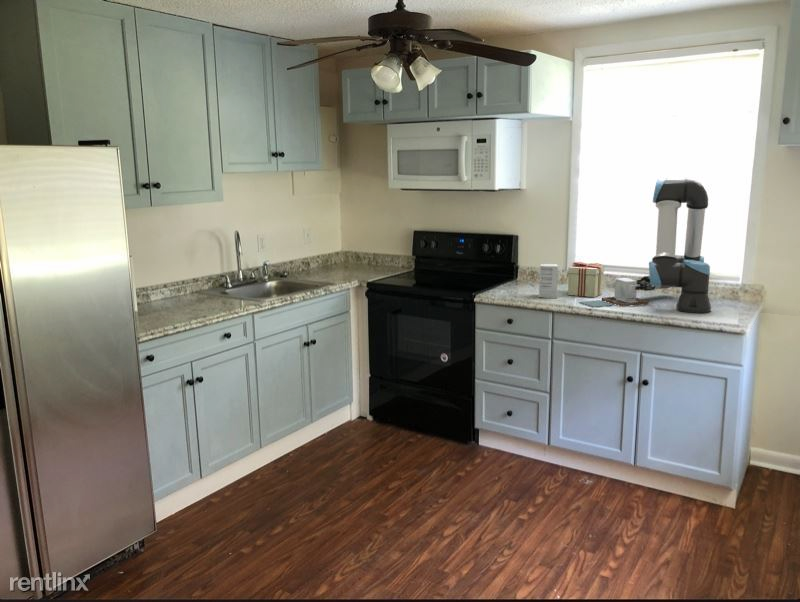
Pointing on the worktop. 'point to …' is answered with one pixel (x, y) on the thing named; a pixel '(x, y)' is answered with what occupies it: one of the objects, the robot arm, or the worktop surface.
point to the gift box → (585, 279)
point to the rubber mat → (596, 303)
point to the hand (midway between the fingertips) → (620, 286)
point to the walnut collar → (640, 301)
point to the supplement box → (548, 280)
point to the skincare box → (625, 289)
